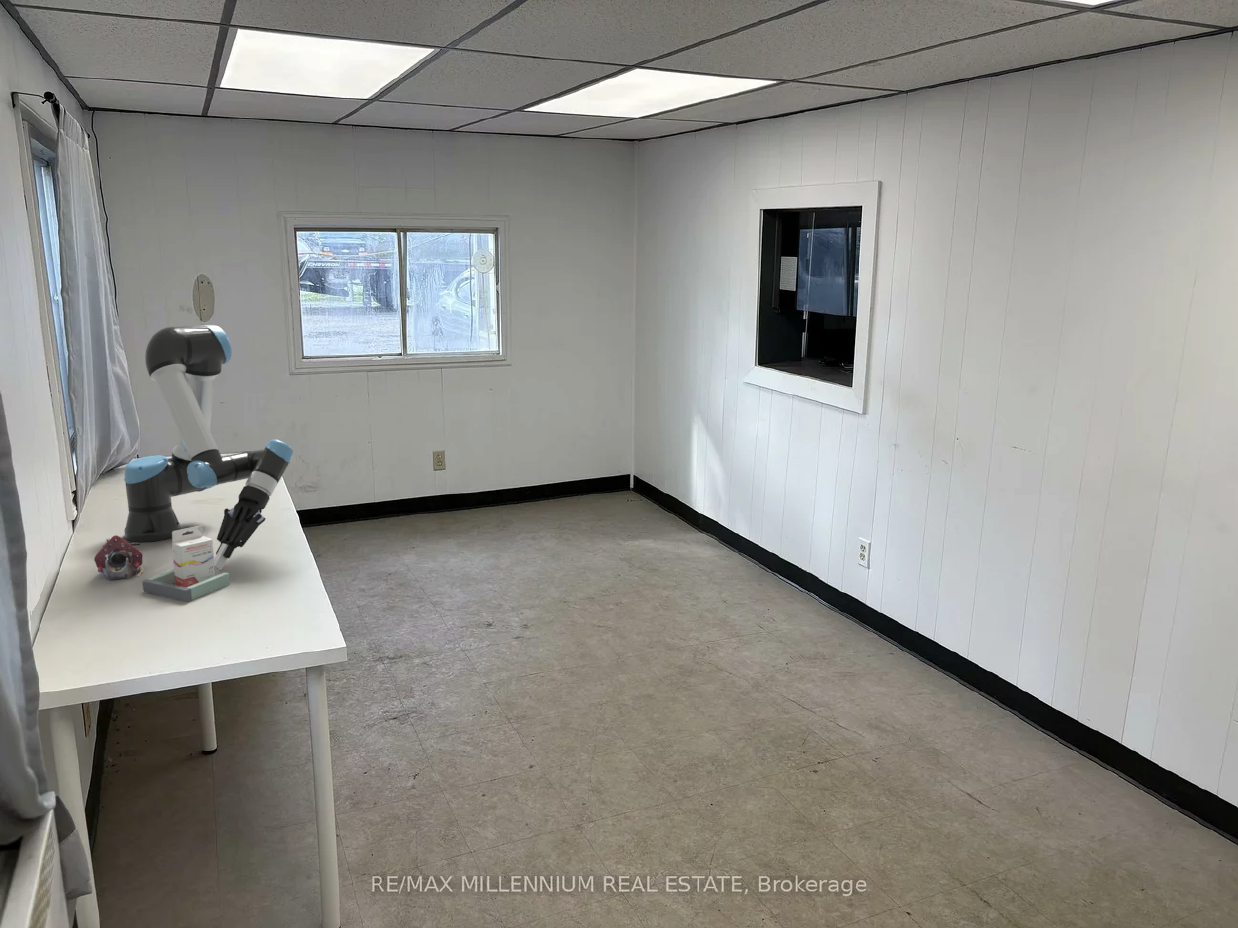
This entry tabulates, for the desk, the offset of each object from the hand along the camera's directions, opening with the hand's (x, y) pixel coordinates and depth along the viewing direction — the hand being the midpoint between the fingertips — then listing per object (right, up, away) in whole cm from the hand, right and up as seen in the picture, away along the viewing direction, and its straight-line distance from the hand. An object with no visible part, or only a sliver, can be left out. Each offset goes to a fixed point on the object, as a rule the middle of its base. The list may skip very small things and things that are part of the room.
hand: (216, 567), depth 239 cm
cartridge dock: (-4, -4, -6) cm, 9 cm away
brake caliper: (-26, -2, +2) cm, 27 cm away
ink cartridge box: (-4, -4, -4) cm, 6 cm away
